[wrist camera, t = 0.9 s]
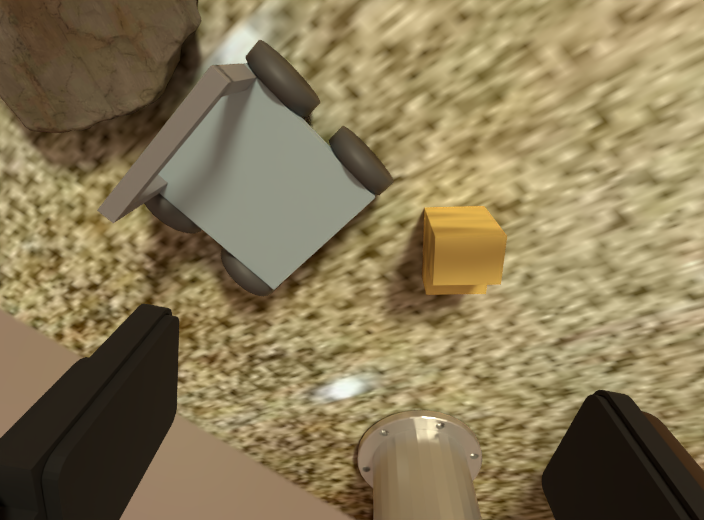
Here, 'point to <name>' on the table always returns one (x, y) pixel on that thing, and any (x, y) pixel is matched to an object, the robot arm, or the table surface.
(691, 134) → the table surface
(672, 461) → the robot arm
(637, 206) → the table surface
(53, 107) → the marble piece
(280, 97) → the trolley
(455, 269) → the orange block
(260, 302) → the table surface
